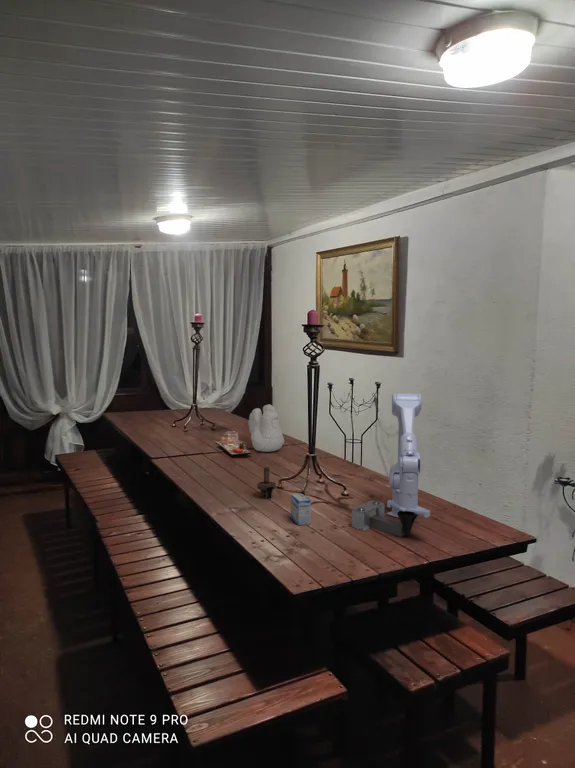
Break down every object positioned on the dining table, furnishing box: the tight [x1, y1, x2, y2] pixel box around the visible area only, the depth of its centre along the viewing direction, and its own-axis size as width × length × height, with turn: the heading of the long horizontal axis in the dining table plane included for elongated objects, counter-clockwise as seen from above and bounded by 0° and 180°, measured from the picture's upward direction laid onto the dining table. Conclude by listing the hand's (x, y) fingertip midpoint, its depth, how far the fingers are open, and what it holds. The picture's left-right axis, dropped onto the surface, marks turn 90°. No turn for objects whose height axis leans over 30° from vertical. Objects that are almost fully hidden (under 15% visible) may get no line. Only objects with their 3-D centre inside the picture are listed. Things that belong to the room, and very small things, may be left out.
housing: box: [351, 500, 386, 532], centre depth 191 cm, size 12×5×7 cm, turn 137°
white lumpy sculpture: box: [247, 403, 285, 453], centre depth 294 cm, size 25×16×25 cm, turn 25°
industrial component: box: [256, 466, 277, 500], centre depth 219 cm, size 9×7×12 cm
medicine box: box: [290, 493, 312, 526], centre depth 193 cm, size 8×4×9 cm, turn 21°
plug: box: [369, 509, 406, 537], centre depth 188 cm, size 4×17×5 cm, turn 46°
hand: (407, 533), depth 181 cm, fingers closed
